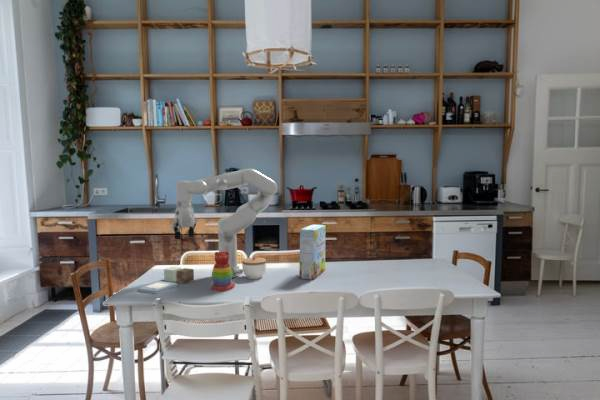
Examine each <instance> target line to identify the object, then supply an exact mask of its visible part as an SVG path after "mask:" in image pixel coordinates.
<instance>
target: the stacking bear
mask: <svg viewBox="0 0 600 400" xmlns="http://www.w3.org/2000/svg"><path fill="white" fill-rule="evenodd" d="M228 255H229V253H228V252H219V251H215V253H214V262H215V264H213V268H212V272H211V279H212V280H211V281H212V284H211V290H213V291H214V292H227V291H231V290H232V289H234V288H235V287H236V286H235V283H234V282H232V279H233V277H232V271H231V267H230V265H229V264H228V260H229V256H228Z"/></svg>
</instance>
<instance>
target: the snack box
mask: <svg viewBox="0 0 600 400" xmlns="http://www.w3.org/2000/svg"><path fill="white" fill-rule="evenodd" d="M326 230H327V226H326V225H324V224H310V225H308V226H307V225H306V226H305V227H303V228H301V229H300V230H299V276H298V277H299V278H298V279H304V280H310V281H312V280H315V279H316V278H317V277H319V276H320V275H321V274H322V273H324V272H326V241H327V240H326V232H327V231H326Z"/></svg>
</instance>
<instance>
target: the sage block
mask: <svg viewBox="0 0 600 400" xmlns="http://www.w3.org/2000/svg"><path fill="white" fill-rule="evenodd" d="M180 269H182V267H177V266H169V267H166V268H164V269H163V276H164V277H163V278H164V280H163V282H170V283H176V282H177V280H176V271H177V270H180Z"/></svg>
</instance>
